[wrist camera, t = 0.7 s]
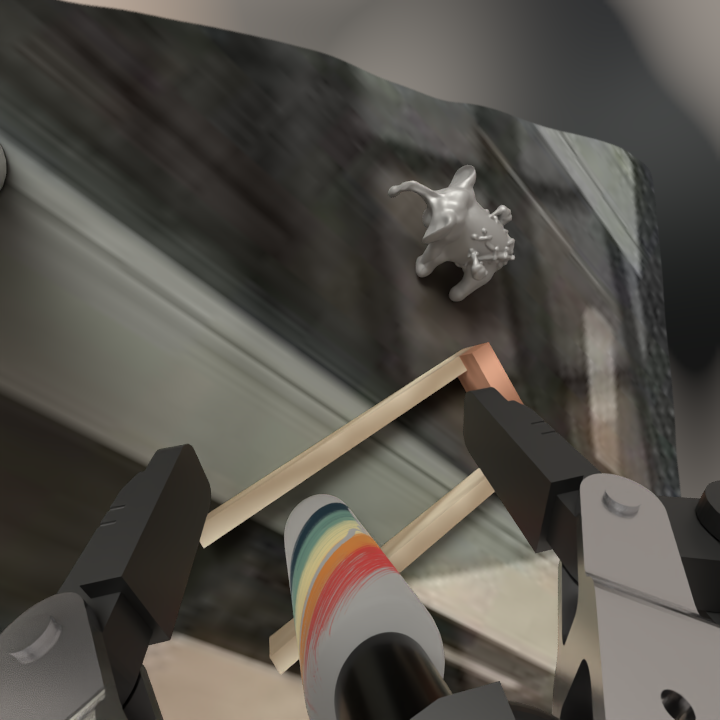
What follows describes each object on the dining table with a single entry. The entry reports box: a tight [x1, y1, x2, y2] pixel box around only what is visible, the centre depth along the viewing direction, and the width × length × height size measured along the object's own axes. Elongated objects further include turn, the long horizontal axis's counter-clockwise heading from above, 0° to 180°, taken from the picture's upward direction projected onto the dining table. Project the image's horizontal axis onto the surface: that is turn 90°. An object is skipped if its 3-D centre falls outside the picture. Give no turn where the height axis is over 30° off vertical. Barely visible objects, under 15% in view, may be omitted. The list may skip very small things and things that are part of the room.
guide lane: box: [200, 342, 523, 675], centre depth 27 cm, size 12×27×4 cm, turn 121°
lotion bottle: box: [284, 494, 452, 720], centre depth 17 cm, size 6×6×20 cm
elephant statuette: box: [388, 165, 515, 301], centre depth 29 cm, size 9×12×8 cm
